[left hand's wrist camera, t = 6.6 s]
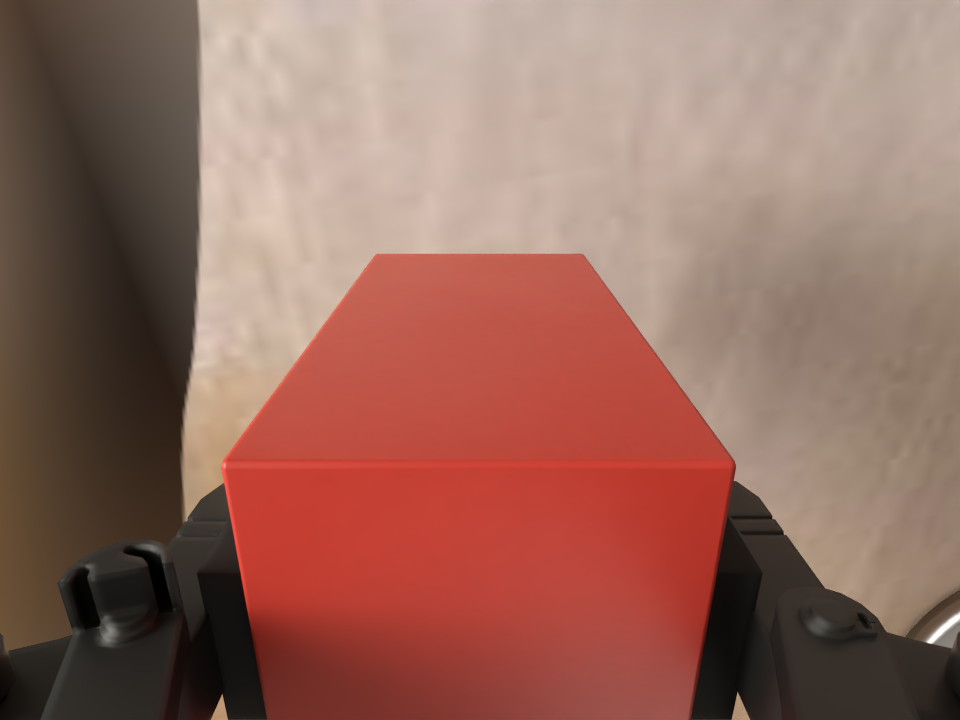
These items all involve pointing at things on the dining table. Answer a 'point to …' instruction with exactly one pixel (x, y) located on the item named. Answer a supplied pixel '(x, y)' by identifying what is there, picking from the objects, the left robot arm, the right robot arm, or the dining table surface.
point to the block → (478, 505)
